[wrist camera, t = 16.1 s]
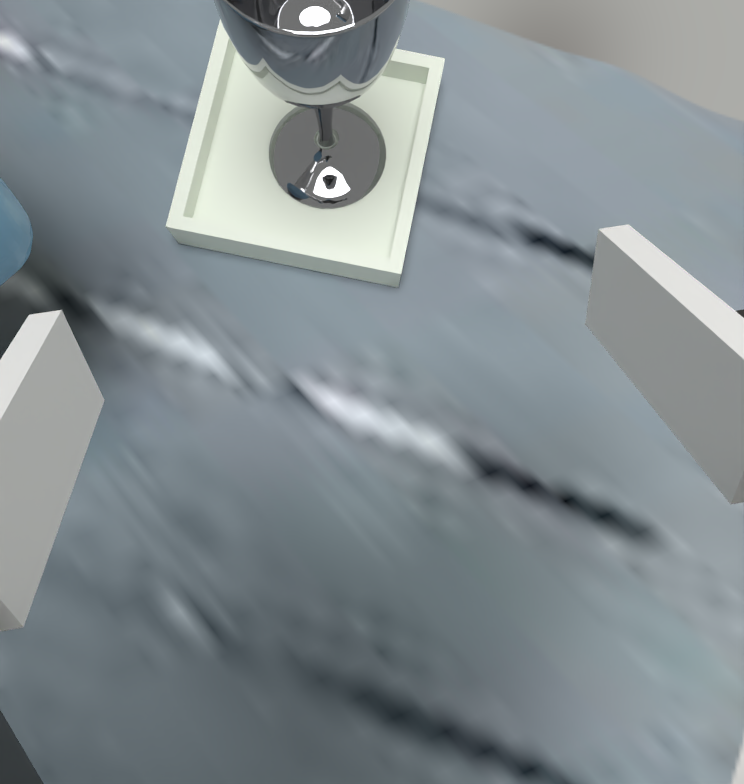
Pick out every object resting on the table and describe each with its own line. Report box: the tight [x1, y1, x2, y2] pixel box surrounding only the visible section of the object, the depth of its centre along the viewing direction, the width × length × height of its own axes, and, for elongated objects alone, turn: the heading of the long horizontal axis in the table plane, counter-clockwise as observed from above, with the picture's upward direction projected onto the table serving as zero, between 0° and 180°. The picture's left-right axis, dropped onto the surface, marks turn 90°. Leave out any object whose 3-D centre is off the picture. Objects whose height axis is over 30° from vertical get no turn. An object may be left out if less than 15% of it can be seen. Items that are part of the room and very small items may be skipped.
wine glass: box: [214, 0, 410, 209], centre depth 29 cm, size 8×8×15 cm
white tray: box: [166, 19, 445, 288], centre depth 36 cm, size 14×14×2 cm
